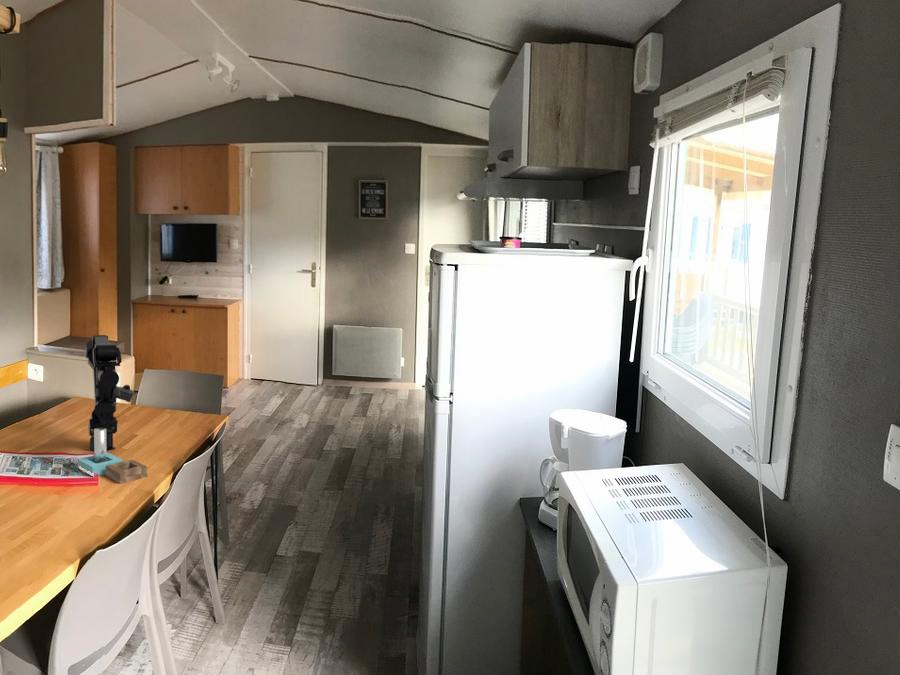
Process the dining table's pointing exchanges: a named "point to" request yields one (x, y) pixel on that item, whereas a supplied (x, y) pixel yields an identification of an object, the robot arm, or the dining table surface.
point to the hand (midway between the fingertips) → (106, 425)
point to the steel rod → (100, 445)
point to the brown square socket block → (126, 471)
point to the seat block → (98, 464)
